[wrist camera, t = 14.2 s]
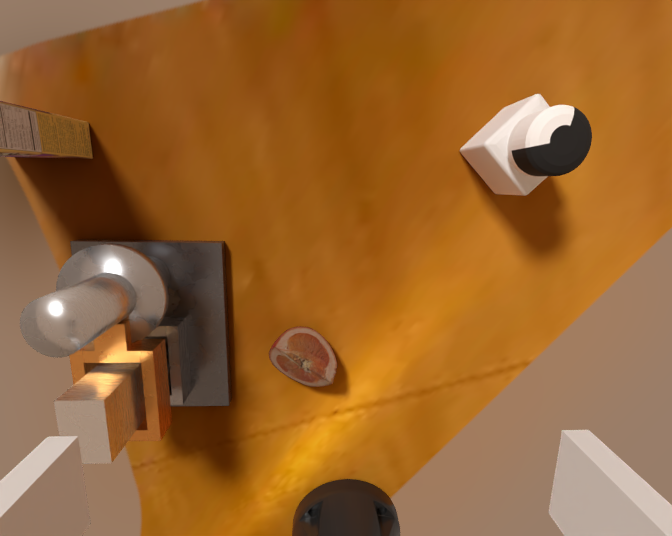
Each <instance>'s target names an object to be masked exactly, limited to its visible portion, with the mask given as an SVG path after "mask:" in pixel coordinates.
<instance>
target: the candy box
mask: <svg viewBox="0 0 672 536" xmlns="http://www.w3.org/2000/svg"><path fill="white" fill-rule="evenodd" d="M0 156H5V157H38V158H89V159H93V155H92V147H91V138H90V129H89V123H88V122H85V121H80V120H77V119H72V118H69V117H65V116H61V115H57V114H52V113H48V112H44V111H40V110H36V109H32V108H28V107H24V106H20V105H16V104H11V103H7V102H3V101H0Z"/></svg>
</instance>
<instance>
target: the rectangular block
mask: <svg viewBox="0 0 672 536" xmlns="http://www.w3.org/2000/svg"><path fill="white" fill-rule="evenodd" d="M144 339H165V345H166V357H167V369H168V374H169V372H170V364H169V352H168V340H167V338H144ZM54 404H55V411H56V418H57V424H58V430H59V436H78V439H79V446H80V453H81V460H82V464H90V463H91V464H92V463H112V462H113V461H114V459H115V458H116V457H117V455H118V454H119V453H120V451H121V450H122V449H123V447H124V446H125V445H126V443H127V442H128V441H129V439H130V438H131V437H132V435H133V434H134V433H135V431H136V430H137V428H138V427H139V426H140V424H141V423H142V422H143V420H144V419H145V418H146V408H145V398H144V388H143V378H142V368H141V363H100V364H98V365H97V366H96V367H95V368H94V369H92V370H91V371H90V372H89V373H87V374H86V375H85V376H84V377H82V378H81V379H80V380H79V381H78V382H76V383H75V384H74V385H73V386H72V387H70V388H69V389H68V390H67V391H65V392H64V393H63V394H62V395H61V396H59V397H58V398H57V399H56V400H54Z"/></svg>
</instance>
